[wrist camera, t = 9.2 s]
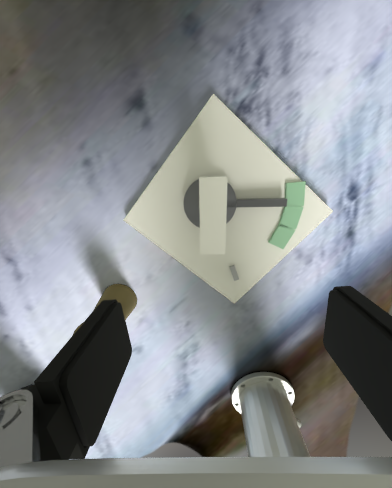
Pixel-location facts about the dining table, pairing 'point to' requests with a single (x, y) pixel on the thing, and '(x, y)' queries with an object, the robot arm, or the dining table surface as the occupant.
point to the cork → (119, 298)
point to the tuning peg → (217, 210)
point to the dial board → (245, 218)
